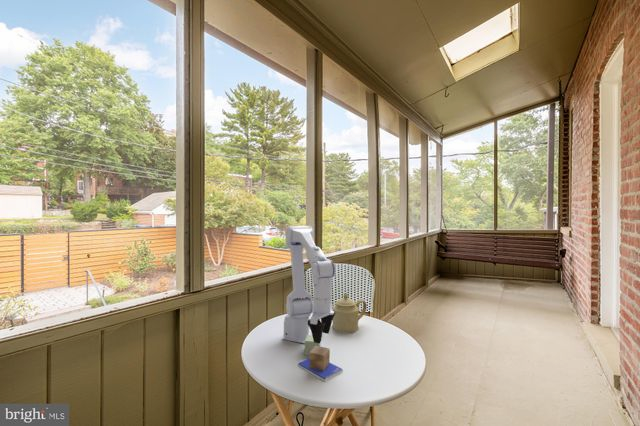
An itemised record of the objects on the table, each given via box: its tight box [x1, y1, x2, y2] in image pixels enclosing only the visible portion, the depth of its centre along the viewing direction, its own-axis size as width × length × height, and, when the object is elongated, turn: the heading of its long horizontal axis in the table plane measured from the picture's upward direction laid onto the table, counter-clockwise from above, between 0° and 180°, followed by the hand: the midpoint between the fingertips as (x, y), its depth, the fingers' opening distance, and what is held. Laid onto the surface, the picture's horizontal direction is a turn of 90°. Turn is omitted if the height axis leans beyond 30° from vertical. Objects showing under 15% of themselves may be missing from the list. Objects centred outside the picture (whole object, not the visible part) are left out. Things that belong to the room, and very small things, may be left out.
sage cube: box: [304, 335, 321, 356], centre depth 115 cm, size 5×5×5 cm
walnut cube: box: [309, 345, 331, 371], centre depth 104 cm, size 5×5×5 cm
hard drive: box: [297, 357, 343, 382], centre depth 104 cm, size 2×8×12 cm
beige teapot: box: [332, 292, 367, 333], centre depth 138 cm, size 15×11×15 cm
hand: (321, 337), depth 106 cm, fingers open, 7 cm apart
